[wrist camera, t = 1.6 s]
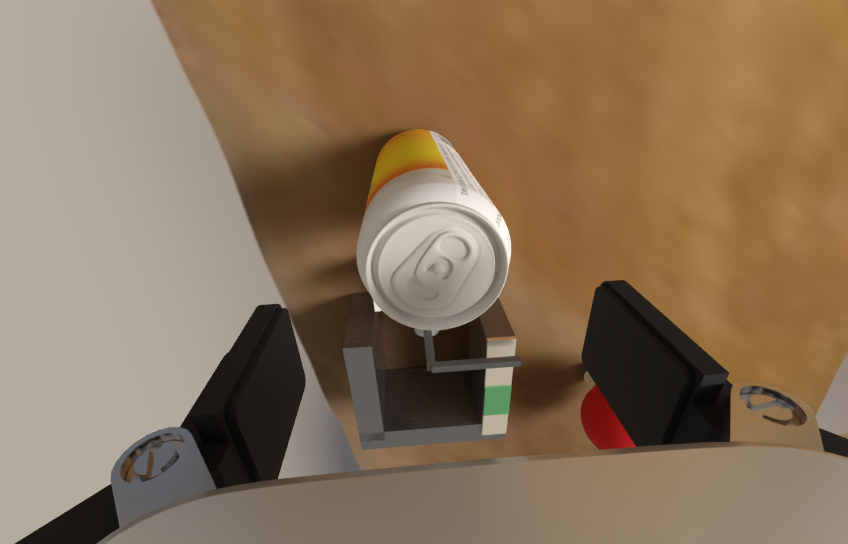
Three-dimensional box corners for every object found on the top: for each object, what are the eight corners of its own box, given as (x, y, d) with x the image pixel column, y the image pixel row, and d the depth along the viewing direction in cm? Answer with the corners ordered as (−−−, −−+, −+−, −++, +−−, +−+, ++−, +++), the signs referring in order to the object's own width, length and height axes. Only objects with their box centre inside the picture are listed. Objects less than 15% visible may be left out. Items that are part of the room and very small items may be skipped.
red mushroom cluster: (538, 368, 37) (581, 461, 28) (594, 324, 34) (660, 411, 26) (591, 406, 40) (645, 500, 31) (646, 369, 38) (720, 459, 29)
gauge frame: (353, 293, 31) (341, 352, 25) (492, 284, 31) (516, 339, 25) (368, 385, 36) (361, 454, 30) (486, 376, 37) (505, 442, 30)
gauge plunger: (376, 257, 28) (369, 315, 22) (497, 249, 29) (528, 304, 22) (382, 313, 31) (378, 380, 24) (494, 306, 31) (520, 370, 25)
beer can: (360, 184, 27) (324, 296, 13) (405, 108, 24) (413, 155, 11) (428, 226, 28) (454, 359, 15) (476, 159, 26) (553, 250, 13)
